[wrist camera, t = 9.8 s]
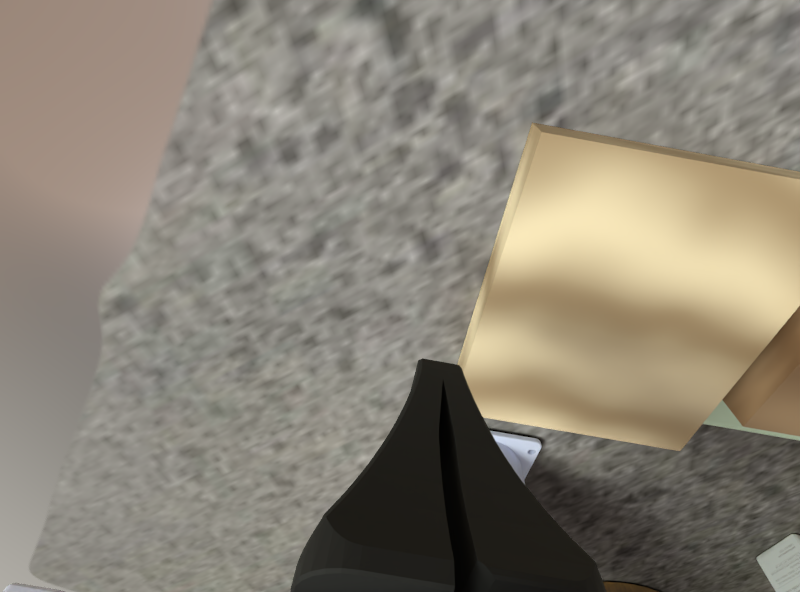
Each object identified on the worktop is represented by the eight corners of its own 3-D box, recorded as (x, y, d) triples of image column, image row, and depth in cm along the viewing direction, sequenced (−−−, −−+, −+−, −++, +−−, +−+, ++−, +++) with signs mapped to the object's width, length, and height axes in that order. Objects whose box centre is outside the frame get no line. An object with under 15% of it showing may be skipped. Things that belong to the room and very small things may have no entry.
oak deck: (664, 424, 27) (680, 451, 25) (450, 387, 27) (450, 411, 25) (848, 180, 18) (889, 196, 16) (532, 122, 18) (541, 131, 16)
